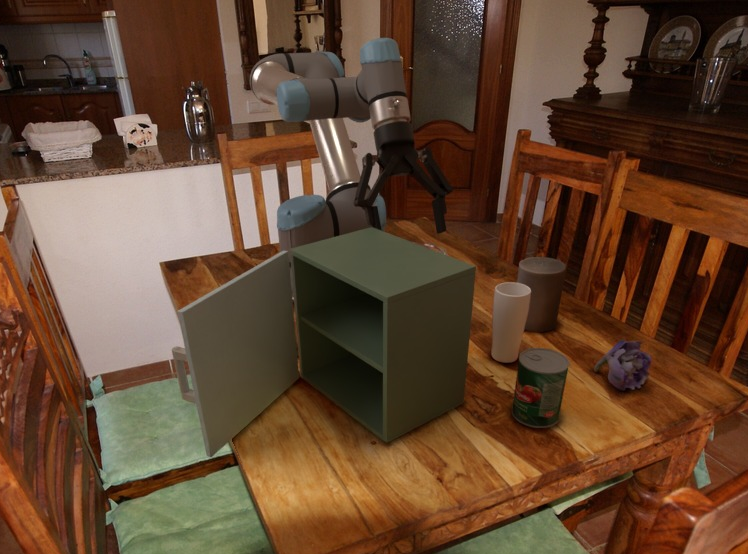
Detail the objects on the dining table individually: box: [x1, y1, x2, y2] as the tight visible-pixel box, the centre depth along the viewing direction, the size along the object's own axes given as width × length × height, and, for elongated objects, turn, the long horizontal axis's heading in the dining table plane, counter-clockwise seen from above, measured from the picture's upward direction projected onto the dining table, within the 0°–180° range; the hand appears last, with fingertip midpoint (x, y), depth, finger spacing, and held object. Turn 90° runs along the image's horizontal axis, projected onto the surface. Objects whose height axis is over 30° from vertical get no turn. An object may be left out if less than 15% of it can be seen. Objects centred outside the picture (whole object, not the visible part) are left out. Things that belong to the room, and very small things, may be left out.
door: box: [171, 250, 300, 458], centre depth 96 cm, size 6×26×26 cm, turn 152°
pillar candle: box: [516, 256, 567, 333], centre depth 125 cm, size 10×10×15 cm
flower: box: [593, 339, 652, 391], centre depth 105 cm, size 9×9×10 cm
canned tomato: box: [511, 347, 570, 429], centre depth 96 cm, size 8×8×11 cm
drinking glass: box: [490, 281, 531, 364], centre depth 112 cm, size 7×7×15 cm
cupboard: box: [290, 227, 477, 444], centre depth 100 cm, size 18×26×26 cm
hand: (410, 237), depth 112 cm, fingers open, 13 cm apart
